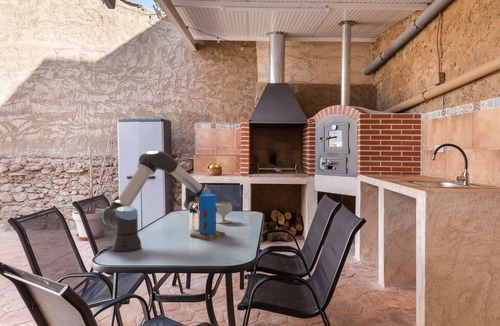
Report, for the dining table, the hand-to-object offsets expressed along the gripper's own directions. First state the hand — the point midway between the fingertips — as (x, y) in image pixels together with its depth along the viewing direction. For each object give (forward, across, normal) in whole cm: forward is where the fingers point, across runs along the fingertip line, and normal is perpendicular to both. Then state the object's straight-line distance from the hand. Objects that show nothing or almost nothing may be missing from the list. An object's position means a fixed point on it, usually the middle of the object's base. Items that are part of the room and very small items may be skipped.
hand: (209, 211), depth 225 cm
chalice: (-36, -29, -17) cm, 49 cm away
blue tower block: (-2, 0, -15) cm, 15 cm away
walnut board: (-2, 0, -17) cm, 17 cm away
